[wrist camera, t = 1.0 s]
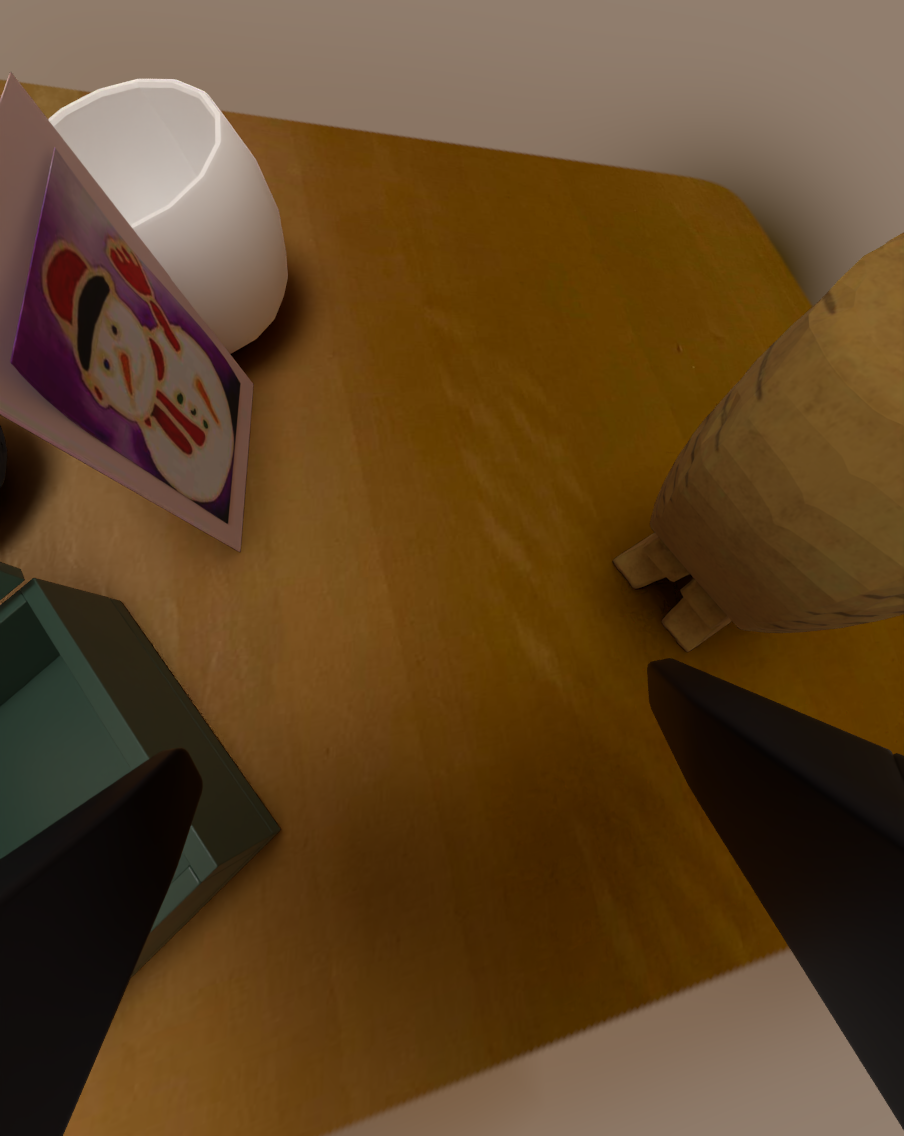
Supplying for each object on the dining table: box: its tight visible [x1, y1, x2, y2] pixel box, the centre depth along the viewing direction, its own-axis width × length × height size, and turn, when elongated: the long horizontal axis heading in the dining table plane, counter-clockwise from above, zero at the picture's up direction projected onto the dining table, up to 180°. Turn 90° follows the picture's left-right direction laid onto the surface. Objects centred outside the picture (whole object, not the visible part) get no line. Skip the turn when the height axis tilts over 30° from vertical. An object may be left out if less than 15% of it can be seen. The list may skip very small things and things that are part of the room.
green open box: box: [0, 578, 280, 977], centre depth 20 cm, size 16×13×5 cm
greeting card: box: [0, 72, 254, 552], centre depth 20 cm, size 11×7×15 cm, turn 4°
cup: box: [48, 79, 288, 354], centre depth 26 cm, size 12×12×10 cm
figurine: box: [613, 233, 904, 652], centre depth 15 cm, size 7×7×15 cm
